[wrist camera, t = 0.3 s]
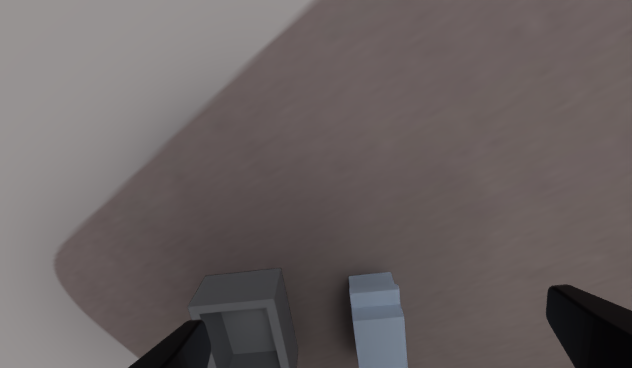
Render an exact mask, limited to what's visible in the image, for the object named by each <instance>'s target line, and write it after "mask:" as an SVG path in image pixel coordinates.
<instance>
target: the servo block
mask: <svg viewBox="0 0 632 368" xmlns="http://www.w3.org/2000/svg"><path fill="white" fill-rule="evenodd" d="M349 286H350V289H349V292H350V300H351V308H352V318H353V326H354V334H355V341H356V349H357V356H358V363H359V368H408V366H407V351H406V337H405V323H404V315H403V311H402V308H401V305H400V293H399V287H398V284H394V281H393V278H392V274H391V272H385V273H375V274H365V275H356V276H349Z"/></svg>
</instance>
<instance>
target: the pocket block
mask: <svg viewBox="0 0 632 368" xmlns="http://www.w3.org/2000/svg"><path fill="white" fill-rule="evenodd" d="M188 310H189V313H190V316H191V319H192V320H199V319H201V320H203V321H204V323H205V325H206V328H207V332H208V335H209V338H210V342H211V354H210V359H209V363H208V368H296V365H297V356H298V347H297V342H296V337H295V332H294V328H293V323H292V318H291V313H290V309H289V304H288V299H287V294H286V290H285V285H284V280H283V275H282V271H281V268H276V269H267V270H257V271H248V272H238V273H229V274H219V275H210V276H205V278H204V279H203V281H202V283H201V284H200V286H199V288H198V290H197V291H196V293H195V295H194V297H193V298H192V300H191V302H190V304H189V305H188Z"/></svg>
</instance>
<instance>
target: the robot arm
mask: <svg viewBox="0 0 632 368" xmlns="http://www.w3.org/2000/svg"><path fill="white" fill-rule="evenodd" d="M546 317H547V320H548V322H549V324H550V326H551V328H552V329H553V331H554V333H555V334H556V336H557V338H558V339H559V341H560V343H561V345H562V346H563V348H564V350H565V351H566V353H567V355H568V356H569V358H570V360H571V361H572V363H573V365H574V367H575V368H632V311H631V310H629V309H626V308H624V307H621V306H619V305H616V304H614V303H612V302H609V301H607V300H604V299H602V298H600V297H597V296H595V295H592V294H590V293H588V292H585V291H583V290H580V289H578V288H575V287H573V286H571V285H555V286H551V287H549V289H548V294H547V306H546ZM210 354H211V342H210V338H209V335H208V332H207V328H206V325H205V323H204V321H203V320H201V319H199V320H189V321H187V322H185V323H184V324H183V325H181V326H180V327H179V328H178V329H176V330H175V331H174V332H173V333H171V334H170V335H169V336H168V337H166V338H165V339H164V340H162V341H161V342H160V343H159V344H157V345H156V346H155V347H154V348H152V349H151V350H150V351H149V352H147V353H146V354H145V355H144V356H142V357H141V358H140V359H139V360H137V361H136V362H135V363H134V364H132V365H131V366H130V367H129V368H207V367H208V363H209V359H210Z"/></svg>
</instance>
